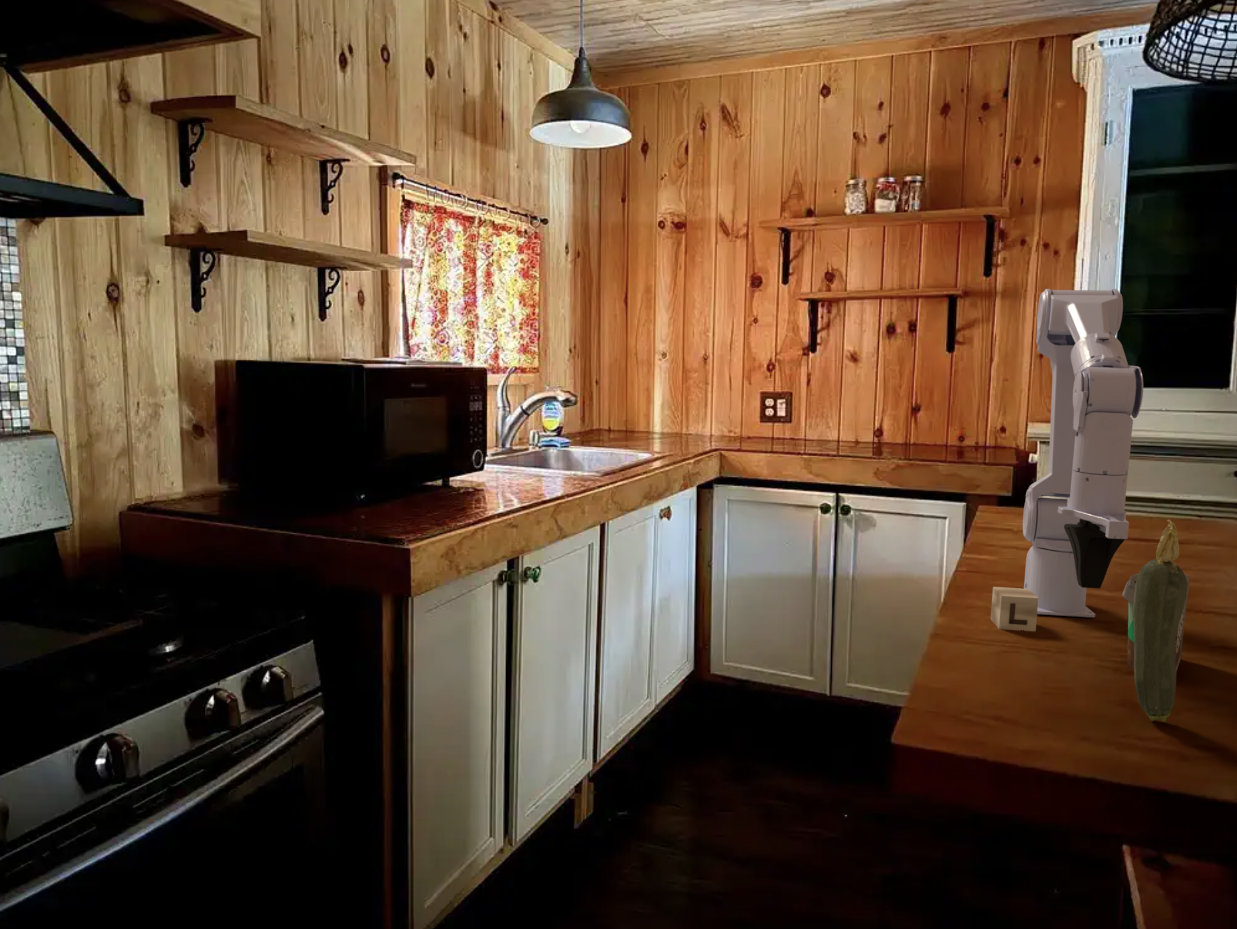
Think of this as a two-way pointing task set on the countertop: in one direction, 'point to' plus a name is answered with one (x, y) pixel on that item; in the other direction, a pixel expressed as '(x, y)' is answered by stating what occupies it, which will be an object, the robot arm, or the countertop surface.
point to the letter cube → (1014, 609)
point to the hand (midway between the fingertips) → (1089, 586)
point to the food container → (1129, 596)
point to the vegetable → (1158, 626)
